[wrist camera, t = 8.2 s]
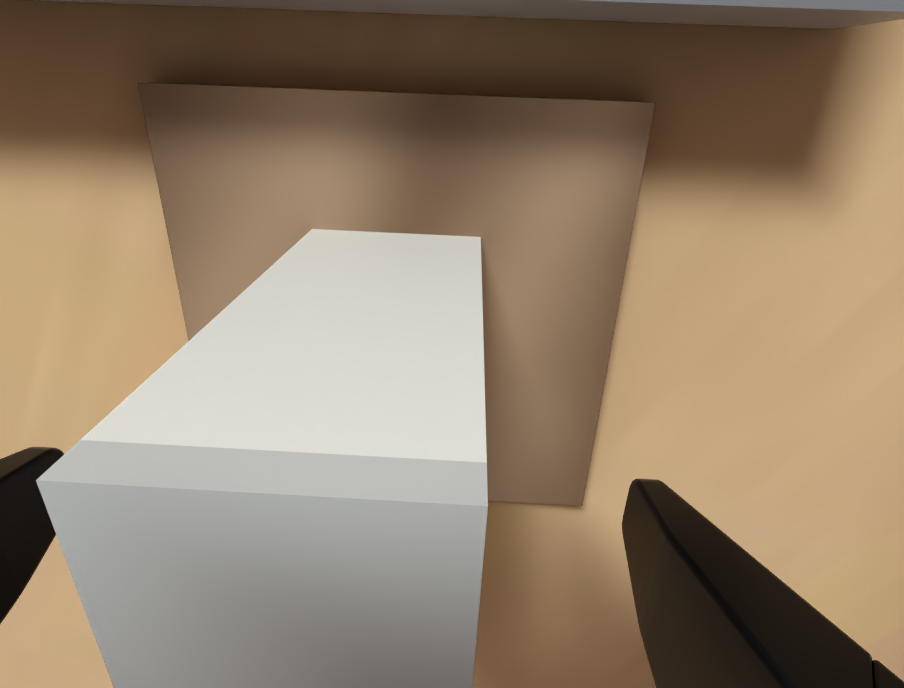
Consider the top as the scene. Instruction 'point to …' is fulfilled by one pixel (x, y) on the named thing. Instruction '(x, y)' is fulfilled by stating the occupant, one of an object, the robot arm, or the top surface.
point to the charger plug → (296, 482)
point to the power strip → (600, 9)
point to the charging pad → (427, 228)
